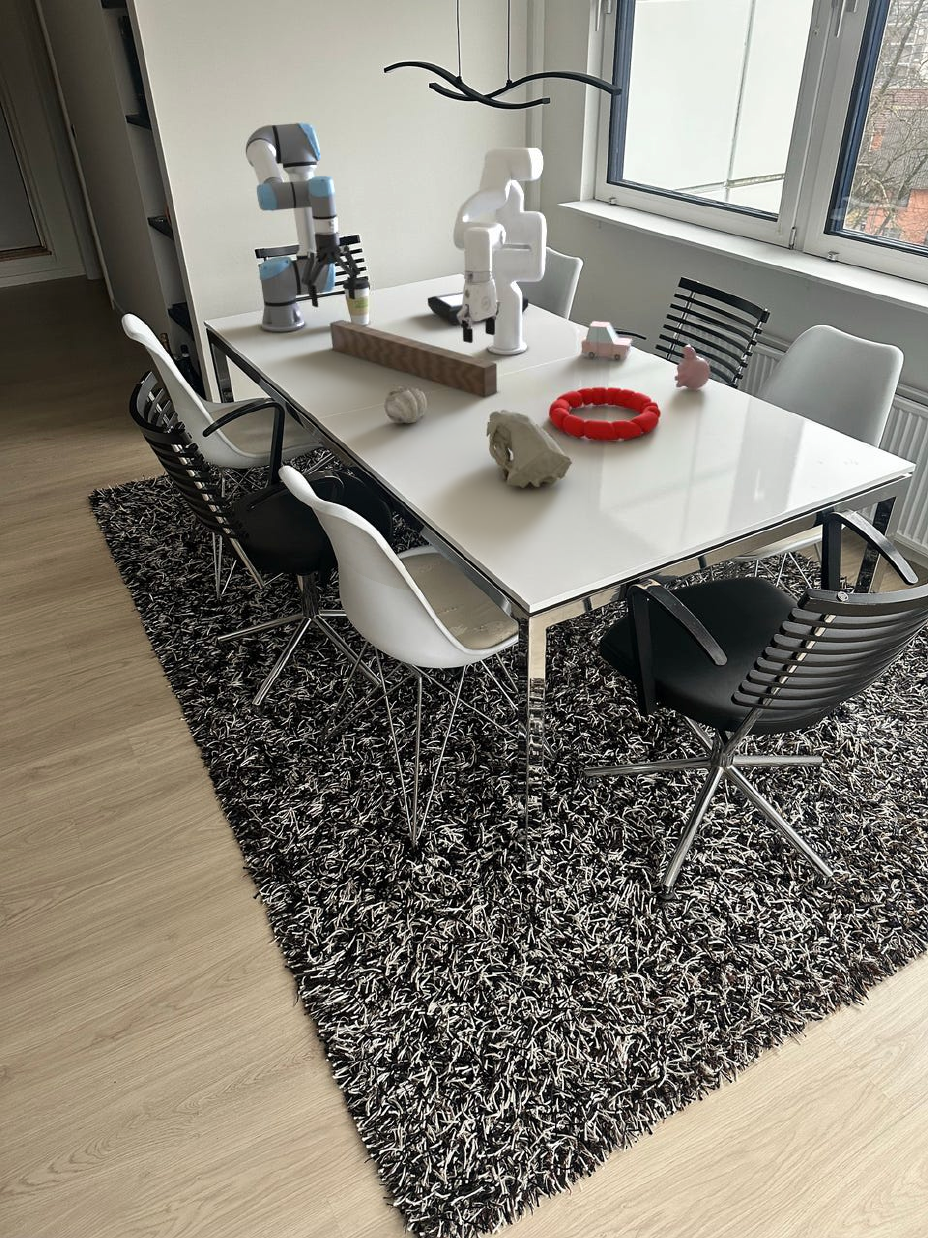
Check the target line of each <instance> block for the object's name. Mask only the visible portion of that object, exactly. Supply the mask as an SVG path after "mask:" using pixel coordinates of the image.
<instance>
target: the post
mask: <svg viewBox="0 0 928 1238" xmlns="http://www.w3.org/2000/svg"><path fill="white" fill-rule="evenodd" d="M329 328H330V336H331V345H332V350H334V351H337V352H341V353H344V354H347V355H351V356H353V357H357V358H360V359H363V360H366V361H370V362H373V363H377V364H379V365H383V366H386V367H388V368H392V369H395V370H399V371H401V372H405V373H408V374H412V375H415V376H418V377H420V378H424V379H427V380H430V381H434V382H437V383H439V384H443V385H446V386H448V387H452V388H456V389H459V390H462V391H465V392H468V393H472V394H475V395H479V396H481V397H485V398H486V397H489V396H491V395H492V394H495V393H498V379H497V378H498V376H497V375H498V374H497V373H498V371H497V369H498V368H497V367H498V365H497V362H493V361H490V360H486V359H483V358H479V357H477V356H472V355H468V354H465V353H461V352H459V351H454V350H450V349H447V348H445V347H444V348H443V347H440V346H436V345H432V344H429V343H426V342H423V341H419V340H415V339H412V338H408V337H404V336H400V335H397V334H395V333H390V332H387V331H383V330H379V329H375V328H372V327H368V326H366V325H358V324H355V323H351V321H347V320H344V319H340V320H336V321H332V322H329Z"/></svg>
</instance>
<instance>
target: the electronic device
mask: <svg viewBox="0 0 928 1238" xmlns="http://www.w3.org/2000/svg"><path fill="white" fill-rule="evenodd" d="M462 302H463V291H460V292H454V293H453V292H452V293H448V294H441V295H435V296H429V297H428V298H427V307H429V308H430V310H431V311H432V312H433V314H434V315H436V316H437V317H439V318H441V319H442V320H444V321H445V322H447V323H449V324H450V325H456V324H459V321H458V318H457V314H458V313H459V312H460V310H461V309H462ZM528 307H529V298H527V297H526V296H524V295H522V314H524V312H525V311H526V310H527V308H528ZM486 319H487V318H486ZM486 319H485V320H486ZM467 323H469V320H468V321H467Z"/></svg>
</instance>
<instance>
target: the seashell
mask: <svg viewBox="0 0 928 1238" xmlns="http://www.w3.org/2000/svg"><path fill="white" fill-rule="evenodd" d="M383 408H384V411H385V412H384V413H385V414H386V416H387V418H388V419H389V420H390V421H392V422H393V423H396V424H403V423H405V424H413V423H417V422H418V421H419V420H420V419H421V418H422V416H423V415H424V413H425V411H426V409H427V398H426V396H425V393H424V391H422V390H419V389H418V388H417V387H408V386H399V387H397V389H396V390H390V391H388V393H387V395H386V397H385V400H384V405H383Z"/></svg>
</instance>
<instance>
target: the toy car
mask: <svg viewBox="0 0 928 1238" xmlns="http://www.w3.org/2000/svg"><path fill="white" fill-rule="evenodd" d="M632 345H633V338H627V337H619V335H618V333H617V332H616V331H615V328H614V327H613V325H612V323H611V322H610V321H609V322H608V321H598V320H597V321H595V320H593V321H592V322H591V323H590V324H589V325H588V330H587V333H586V336H585V337H584V338H583V339H582V341H581V352H580V353H581V355H586V356H588V358H589V359H593V358H595V357H597V356H599V357H609V358H610V357H612V358H613V359H614V360H615V361H619V360H621V359H626V358H627V357H628V356H629V354H630V353H631V346H632Z"/></svg>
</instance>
